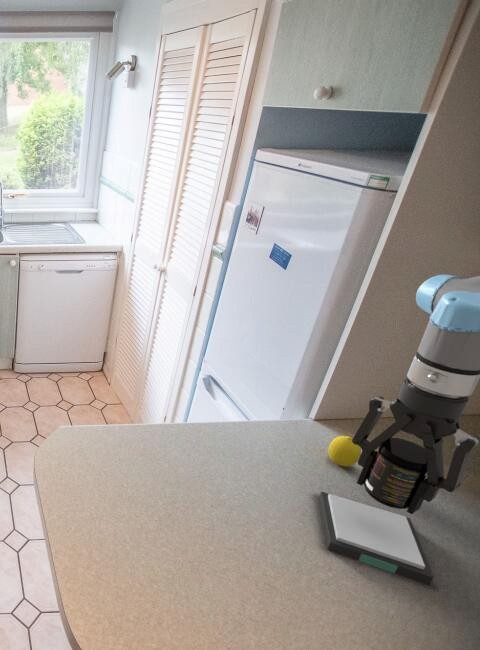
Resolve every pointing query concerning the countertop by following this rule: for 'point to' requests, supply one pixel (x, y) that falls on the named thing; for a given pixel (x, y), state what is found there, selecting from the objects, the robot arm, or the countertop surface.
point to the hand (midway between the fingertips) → (386, 495)
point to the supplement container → (396, 473)
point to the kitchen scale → (373, 537)
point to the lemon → (344, 451)
